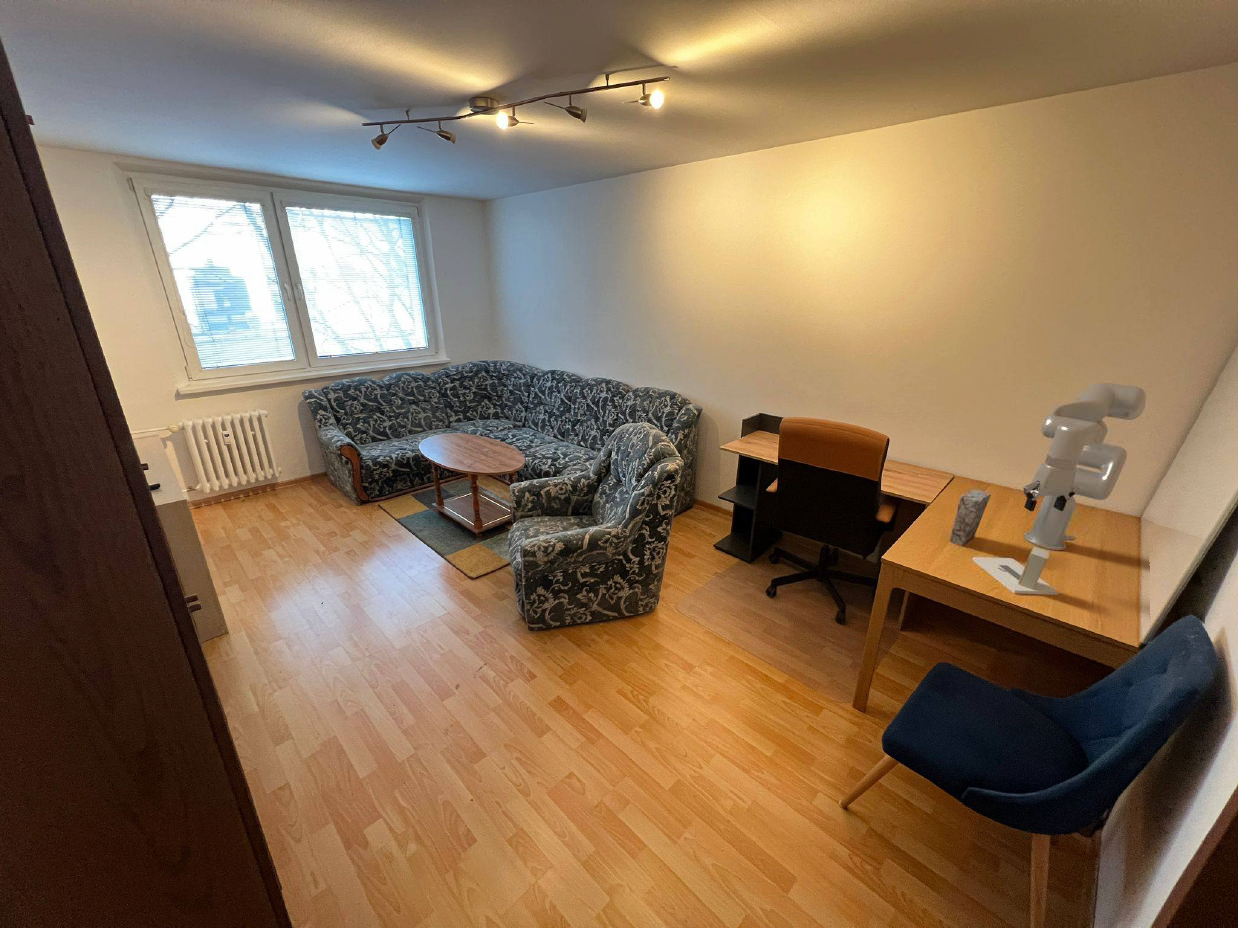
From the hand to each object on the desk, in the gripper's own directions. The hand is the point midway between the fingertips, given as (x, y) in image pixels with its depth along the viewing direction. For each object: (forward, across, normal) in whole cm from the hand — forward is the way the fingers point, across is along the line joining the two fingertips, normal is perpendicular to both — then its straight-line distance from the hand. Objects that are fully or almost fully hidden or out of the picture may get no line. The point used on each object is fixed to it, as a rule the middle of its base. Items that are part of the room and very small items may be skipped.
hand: (1043, 509), depth 158 cm
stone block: (+24, +7, -20) cm, 33 cm away
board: (+24, +6, +5) cm, 25 cm away
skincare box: (+22, +6, +10) cm, 26 cm away
